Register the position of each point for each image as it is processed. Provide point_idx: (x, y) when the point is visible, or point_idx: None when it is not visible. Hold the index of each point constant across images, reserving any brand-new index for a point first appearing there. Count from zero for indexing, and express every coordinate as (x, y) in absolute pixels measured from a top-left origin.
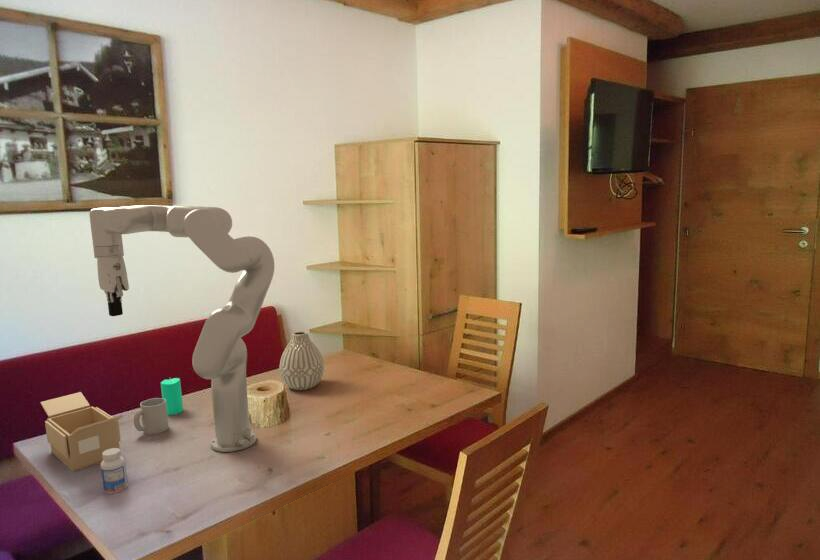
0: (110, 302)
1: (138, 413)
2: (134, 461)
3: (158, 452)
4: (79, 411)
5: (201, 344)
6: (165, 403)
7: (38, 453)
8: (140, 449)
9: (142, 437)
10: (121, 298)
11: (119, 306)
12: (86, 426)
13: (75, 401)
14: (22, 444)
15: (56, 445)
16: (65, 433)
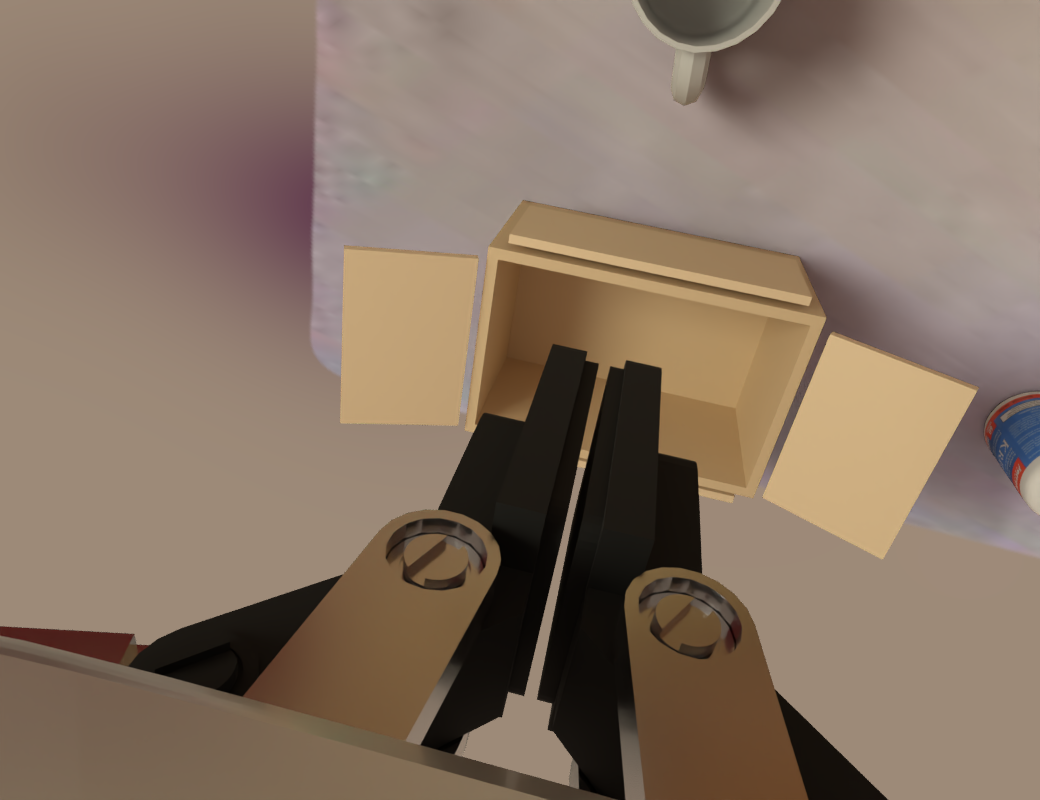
0: (553, 710)
1: (702, 84)
2: (909, 259)
3: (953, 145)
4: (491, 311)
5: None
6: None
7: (465, 383)
8: (830, 169)
9: (716, 74)
10: (764, 663)
11: (699, 541)
12: (897, 530)
13: (414, 302)
14: (331, 367)
15: None
16: (712, 488)
